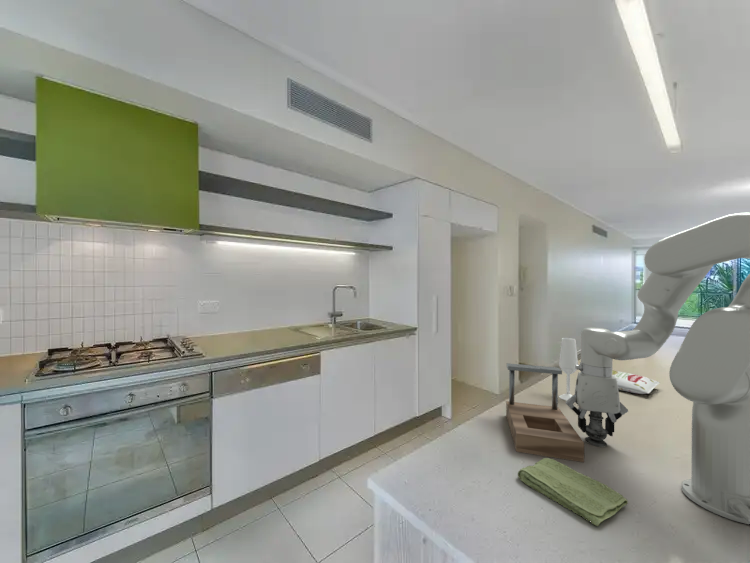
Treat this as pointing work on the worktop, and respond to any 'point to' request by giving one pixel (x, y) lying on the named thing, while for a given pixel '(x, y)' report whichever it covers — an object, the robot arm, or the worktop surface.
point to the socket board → (543, 432)
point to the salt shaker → (596, 430)
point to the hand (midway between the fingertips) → (595, 431)
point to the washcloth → (573, 490)
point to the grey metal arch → (531, 368)
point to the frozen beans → (634, 382)
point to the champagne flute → (568, 361)
